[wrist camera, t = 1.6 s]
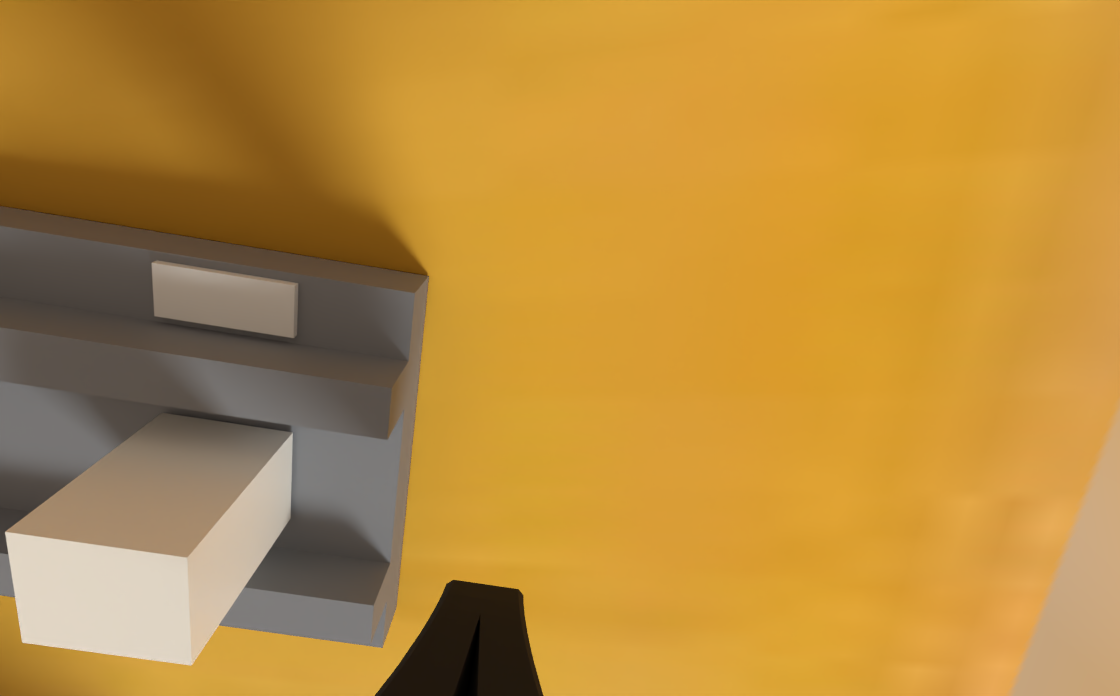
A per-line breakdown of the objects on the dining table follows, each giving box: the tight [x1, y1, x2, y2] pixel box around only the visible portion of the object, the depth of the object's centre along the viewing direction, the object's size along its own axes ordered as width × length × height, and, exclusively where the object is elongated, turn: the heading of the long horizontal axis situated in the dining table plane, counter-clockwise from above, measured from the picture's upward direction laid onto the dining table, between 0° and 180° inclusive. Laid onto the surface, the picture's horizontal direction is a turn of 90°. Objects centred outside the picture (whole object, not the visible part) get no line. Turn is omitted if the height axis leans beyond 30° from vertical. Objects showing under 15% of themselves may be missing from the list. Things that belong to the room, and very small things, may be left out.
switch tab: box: [5, 413, 293, 665], centre depth 14 cm, size 2×3×4 cm
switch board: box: [0, 206, 429, 648], centre depth 16 cm, size 10×16×3 cm, turn 81°
